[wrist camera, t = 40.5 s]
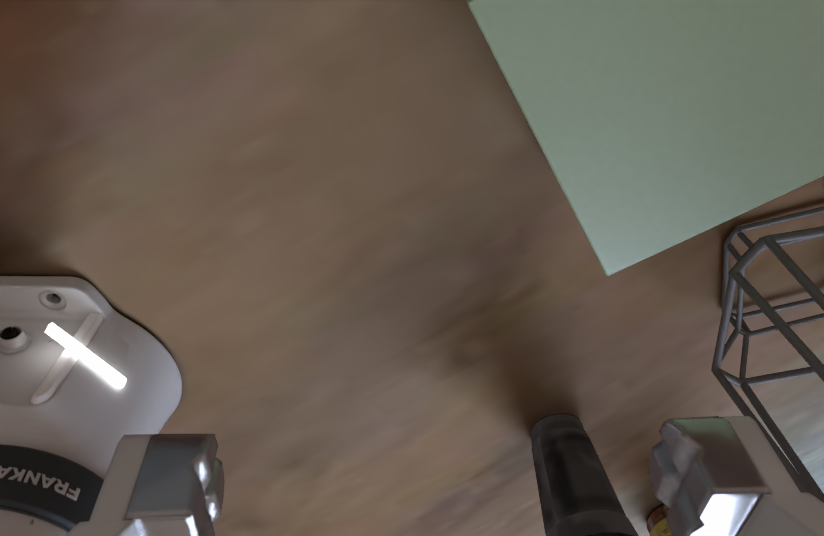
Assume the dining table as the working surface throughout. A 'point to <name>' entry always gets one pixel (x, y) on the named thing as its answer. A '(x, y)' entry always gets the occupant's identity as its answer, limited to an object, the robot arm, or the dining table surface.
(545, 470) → the beverage cup
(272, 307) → the dining table surface
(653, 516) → the sauce bottle
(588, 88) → the cabinet
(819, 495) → the geometric lantern
